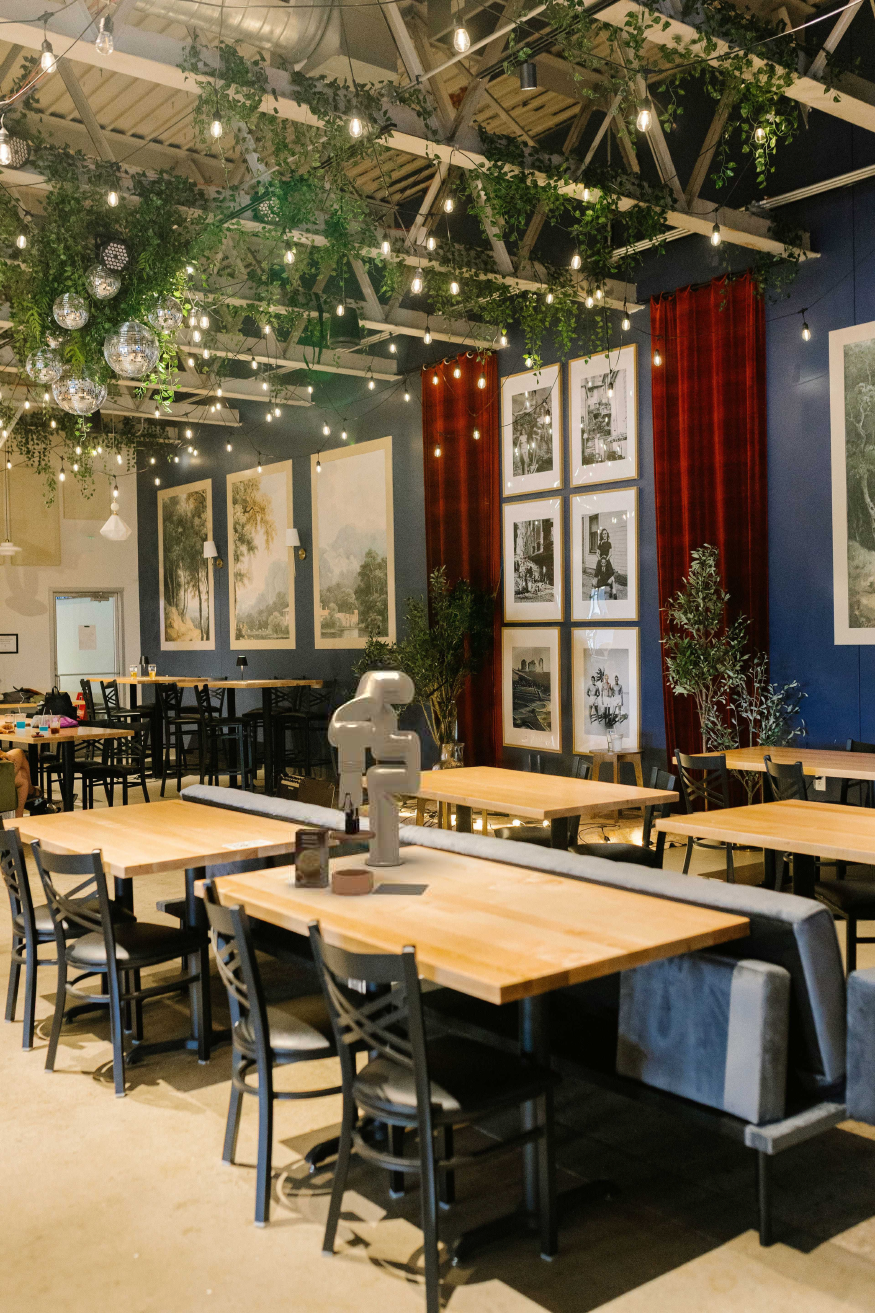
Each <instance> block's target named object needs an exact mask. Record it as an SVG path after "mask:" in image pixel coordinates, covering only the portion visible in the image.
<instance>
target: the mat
mask: <svg viewBox="0 0 875 1313" xmlns="http://www.w3.org/2000/svg"><path fill="white" fill-rule="evenodd" d="M429 886H430V884H425V883H424V884H423V883H422V884H419V883H417V884H416V883H415V884H414V883H411V884H410V883H381V884H380V885H379V886H378V887H377V888H376V889H375V890H373V891H372V892H371V895H385V896H386V895H389V896H390V895H391V896H392V895H393V896H395V895H396V896H422V895H423V894H424V892H425V891H426V890H427V889H428V887H429Z"/></svg>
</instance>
